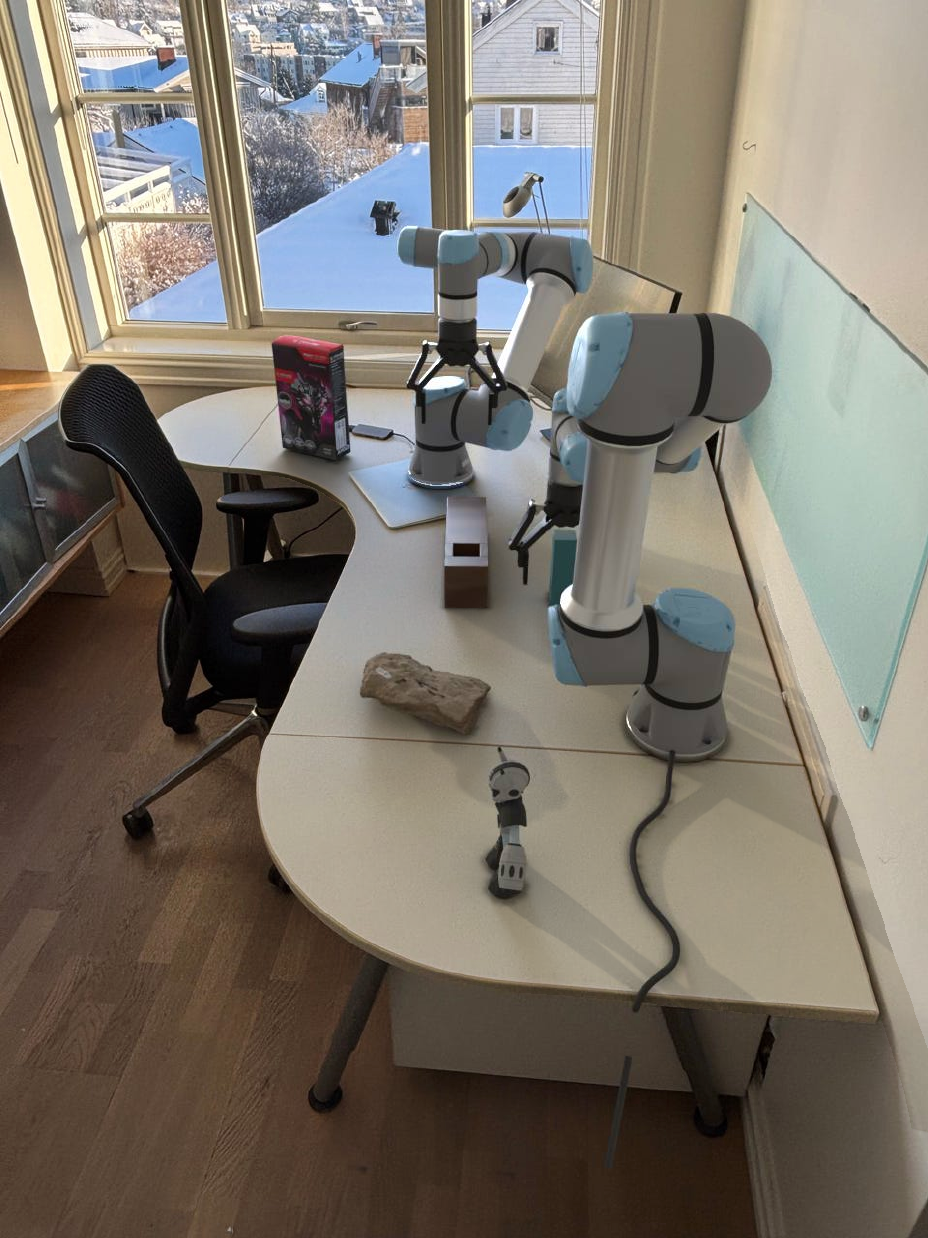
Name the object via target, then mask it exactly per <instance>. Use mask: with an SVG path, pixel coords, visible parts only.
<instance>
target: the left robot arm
mask: <svg viewBox="0 0 928 1238" xmlns="http://www.w3.org/2000/svg"><path fill="white" fill-rule="evenodd" d="M397 237H398V238H397V243H396V252H397V256H398V259H399V261H401V263H402V264H404V265H406V266H407V265H408V266H413V267H414V268H423V269H424V268H425V269H433V270H437V273H438V274H437V277H438V278H437V279H438V280H437V281H438V284H437V285H438V293H437V315H438V316H439V318H438V321H437V342H430V341H429V340H427V339H425V340H423V342H422V346H421V347H422V348H421V353H420V354H419V356H418V359H417V360H416V363H415V365H414V367H413V368H412V371H411V373H410V375H409V377H408V379H407V382H406V388H407V389H408V390H413V391H414V398H413V407H414V436H415V440H414V441H415V444H414V445H415V446H414V449H413V451H412V455H411V457H410V462H409V464H408V469H407V472H409V473H407V475H408V478H409V481H410V482H412V483H413V484H414V485H416V486H419V487H422V488H425V489H429V490H431V489H432V490H451V489H456V488H460V487H463V486H465V485H467V484H468V483H470V482H471V481H472V479H473V475H474V473H473V472H474V468H473V464H472V462H471V459H470V455H469V452H468V450H467V446H466V444H470V445H475V446H479V447H483V448H486V449H490V450H491V451H504V452H512V451H513V450H516V449H518V448H519V447H520V446H521V445H522V444H523V443H524V441H525V440H526V438H527V436H528V434H529V433H530V430H531V427H532V421H533V418H534V409H533V406H532V404H531V396H530V394H529V392H528V391H529V389H530V387H531V384H532V381H533V379H534V377H535V374H536V372H537V371H538V368H539V365H540V363H541V360H542V358H543V356H544V354H545V351H546V348H547V346H548V344H549V342H550V340H551V338H552V335H553V333H554V330H555V327H556V325H557V323H558V320H559V318H560V316H561V313H562V312H563V311H562V310H563V308H565V307H567V306H569V305H571V304H572V303H573V302H574V299H575V298H576V295H577V294H585V293H587V292H588V291H589V289H590V287H591V284H592V280H593V275H594V252H593V248H592V246H591V244H590V242H589V241H588V240H587V239H586V238H581V237H575V236H574V235H570V236H567V235H566V236H565V235H558V234H550V233H543V232H536V231H511V232H508V231H507V232H501V231H500V232H499V231H492V230H491V231H484V232H481V233H475V231H471V230H465V229H452V230H449V229H440V228H434V227H425V226H421V225H416V226H415V225H407V226H405V227H403V229H401V231H400V232H399V234H398V236H397ZM487 276H490V277H494V278H500V279H504V280H507V281H510V282H513V283H517V284H521V285H526V288H527V291H528V293H527V295H526V297H525V300H524V302H523V305H522V307H521V309H520V311H519V314H518V316H517V319H516V321H515V323H514V326H513V327H512V330H511V332H510V335H509V337H508V339H507V342H506V344H505V346H504V348H503V350H502V353H501V356H500V357H499V359H498V360H497V358H496V357H495V354H494V352H493V351H494V350H493V343H492V341H490V340H489V341H486V342H485V343H479V342H478V341H477V338H478V337H477V333H478V320H477V316H478V287H479V286H478V283H479V280H480V279H482V278H485V277H487ZM434 351H436V353H437V354H438V355H439V357H438V358H437V359H436V360H435V362H434V363H433V364H432V365H431V366H430V368H429V369H428V370H427V371H426V372H425V374H424V375H422V377H421V378H420V379H419V380H418V377H419V375H420V373H421V371H422V369H423V366H424V365H425V362H426V361H427V358H428V355H431V354H432V353H433V352H434ZM479 351H480V352H481V353H482V355H484V356H486V359H487V361H488V363H489V365H490V368H491V370H492V372H493V373H492V375H490V374H489V373H488V372H487V370H486V369H485V368H484V367H483V365H482V364H481V363H480V362H479V360H478V359H477V357H476V355H477V354H478V352H479ZM445 365H447V366H449V367H456V366H458V367H461V368H462V367H464V368H465V367H467V366H468V368H467V369H466V372H465V375H466V376H465V377H466V379H464V378H462V377H460V376H455V375H454V376H453V375H450V376H449V375H447V376H438V377H435V376H436V375H437V373H439V371H440V370H441V369H442V368H443V367H445ZM471 369H472V370H473V371H474V372H475V373H476V374H477V376H479V378H480V379H481V380H482V382H481V384H480V386H479V389H478V390H474V389H471V382H470V371H471ZM417 380H418V381H417ZM409 475H410V476H409ZM411 477H412V478H413V479H414V480H416V481H419V482H421V483H426V484H432V485H442V484H449V483H456V482H463V483H460V484H456V485H451V486H430V485H425V484H421V483H418V482H416V481H414V480H413V479H412V478H411Z"/></svg>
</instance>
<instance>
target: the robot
mask: <svg viewBox="0 0 928 1238" xmlns="http://www.w3.org/2000/svg"><path fill="white" fill-rule="evenodd" d="M497 752H498V755H499V758H500V762H499V763H498V764H497V765H496V766H494V767H493V769H491V772H490V773H489V775H488V788H489V790H490V791H491V800H492V801H493V802H494V806H495V808H496V810H497V812H498V814H496V820H497V828H498V829H499V836H498V838H497V840H496V842H495V844H494V845H493V846H492V848H491V850H490V851H489V852H488V854H487V855H486V857H485V861H486V863H487V865H488V867H489V868H490V869H491V870H493V871H495V872H493V874H492V876H491V878H490V880H489V883H488V886H487V890H488V891H490V893H491V894H492V895H493V896H494V897H495V898H500V899H509V898H512V897H514V896H516V895H518V894H520V893H522V891H523V888H524V884H525V878H526V877H525V876H526V869H527V856H526V851H525V847H524V846H523V845H522V844H521V840H520V826H521V827H523V828H527V827H528V820H527V810H526V807H525V804H524V803H523V796H522V794H524V791H525V789H526V788H528V786H529V785H530V781H531V775H530V771H529V769H528V767H527V766H526V765H524V764H522V763H521V762H520V761H517V760H515V759H507V756H506V755H505V753H504V751H503V749H502V747H501V746H498V747H497Z"/></svg>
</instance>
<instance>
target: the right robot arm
mask: <svg viewBox="0 0 928 1238" xmlns="http://www.w3.org/2000/svg"><path fill="white" fill-rule="evenodd" d="M771 359H772V358H771V356H770V353H769V350H768V348H767V345H766V344H765V342H764V341H763V339H762V338H761V337H760V336H759V334H758V333H757V332H755V330H753V329H752V328H751V327H750V326H748V324H746V323H744V322H743V321H742V320H739V319H737V318H735V317H732V316H730V315H726V314H721V313H717V312H700V313H691V312H689V313H687V312H680V313H679V312H671V313H670V312H667V313H666V312H665V313H662V312H659V313H657V312H656V313H655V312H651V313H650V312H648V313H647V312H645V313H643V312H642V313H640V312H637V313H636V312H635V313H634V312H630V313H629V311H621V312H617V313H605V314H595V315H592V316H590V317H589V318H587V319H586V320H585V321H584V322H583V323H582V324H581V327H579V329H578V331H577V334H576V336H575V338H574V342H573V347H572V349H571V354H570V358H569V364H568V369H567V384H566V387H565V388H561V389H559V390H558V391H556V393H555V394H554V395H553V401H552V409H551V410H550V411H551V424H550V425H551V426H550V427H551V428H550V429H551V430H550V445H549V446H550V447H549V457H548V458H549V459H548V470H547V471H548V472H547V476H548V478H547V485H546V499H545V501H544V502H536V500H535V499H533V498H531V499H529V500H528V502H527V507H526V511H525V512H524V514H523V516H522V518H521V520H520V521H519V523H518V524H517V525H516V527H515V529H514V531H513V532H512V534H511V536H510V537H509V538H508V540H507V543H508V550H509V551H512V552H513V551H515V552H516V553H517V558H516V559H517V563H516V564H517V567H518V568H519V569H522V585H523V586H528V582H529V581H528V579H529V561H530V551H529V549H531V547H533V545H534V544H535V543H537V542H538V541H539V540H540V539H541V537H543V536H544V535H545V534H546V533H547V532H549V531H550V530H552V528H554V527H557V528H559V529H560V528H561V529H562V528H563V529H564V528H565V527H566V528H571V529H574V528H576V527H578V531H577V548H576V559H575V569H574V578H573V584H572V585H570V586H569V587H568V588H567V589H566V590H565V591H564V592H563V593H562V596H561V599H560V605H554V606H551V605H549V607H548V608H547V614H546V615H547V628H548V636H549V646H550V647H549V648H550V654H551V662H552V668H553V673H554V677H555V678H556V680H557V681H558V682H559V683H560V684H562V685H565V686H577V687H579V686H580V687H584V688H587V687H590V686H594V687H595V686H634V685H635V686H636V685H640V688H638V689H637V690H636V691H635V692H634V693H633V695H632V697H631V698H633V699H632V701H631V702H630V704H629V706H628V708H627V711H626V719H625V728H626V732H627V734H628V736H629V738H630V739H631V741H632V742H634V744H636V745H637V746H638V747H639V748H640V749H641V750H643V751H645V752H646V753H648V754H650V755H651V756H654V757H656V758H659V759H662V760H666V761H667V767H666V774H665V775H666V776H665V787H664V788H665V789H664V794H663V797H662V799H661V802H660V803H659V805H658V806H657V807H656V808H655V809H654V810H653V811H652V812H651V813H650V814H649V815H647V816H646V817H645V818H644V819H642V821H640V823H639V824H638V825H637V826H636V828H635V830H634V831H633V834H632V837H631V841H630V845H629V863H630V864H629V865H630V869H631V873H632V877H633V880H634V884H635V886H636V890H637V891H638V892H637V893H638V894H639V896H640V898H641V900H642V901H643V902H644V904H645V906H646V907H647V908H648V909H649V910H650V912H651V913H652V914H653V915H654V916H655V917H656V919H657V920H658V921H659V922H660V924H661V925H662V926H663V927H664V929H665V930H666V932H667V933H668V935H669V938H670V940H671V944H672V956H671V958H670V959H669V961H668V963H667V964H666V965H664V967H662V968H661V969H660V970H658V971H657V972H655V974H653V975H652V976H651V977H649V978H648V979H647V980H646V981H645V983H643V985H642V986H641V987H640V988H639V990H638V992H637V993H636V996H635V998H634V1000H633V1002H632V1005H631V1012H633V1013H634V1014H636V1013H639V1011H640V1008H641V1006H642V1003H643V1001H644V999H645V997H646V996H647V994H648V993H649V991H650V990H651V989H653V987H654V986H655V985H656V984H658V982H660V981H661V980H663V979H664V978H666V976H668V975H670V973H672V971H674V969H675V968H676V967H677V965H678V964H679V960H680V958H681V943H680V940H679V937H678V936H679V935H678V934H677V932H676V930H675V928H674V927H673V925H672V924H671V923H670V921H669V920H668V919H667V918H666V916H665V915H664V914H663V913H662V912H661V911H660V910H659V908H658V907H657V906H656V905H655V904H654V903H653V901H652V900H651V898H650V897H649V895H648V893H647V891H646V889H645V887H644V884H643V880H642V878H641V873H640V870H639V866H638V861H637V847H638V842H639V838H640V836H641V834H642V832H643V831H644V829H645V828H647V826H648V825H649V824H650V823H652V821H654V820H655V819H657V817H658V816H660V815H661V814H662V812H663V811H664V810H665V809H666V807H667V805H668V804H669V801H670V799H671V798H670V797H671V794H672V785H673V784H672V783H673V781H672V780H673V773H674V766H675V765H674V764H675V763H694V762H700V761H703V760H706V759H709V758H711V757H714V755H716V754H718V752H720V751H721V750H722V748H723V747H724V744H725V743H726V740H727V739H726V738H727V733H728V721H727V716H726V712H725V708H724V707H725V706H724V701H723V692H724V686H725V682H726V678H727V672H728V668H729V664H730V659H731V654H732V651H733V649H734V646H735V631H736V620H735V617H734V614H733V612H732V611H731V609H730V608H729V607H728V606H727V605H726V604H725V603H724V602H723V601H721V600H720V599H718V598H716V597H715V596H713V595H711V594H709V593H706V592H704V591H701V590H698V589H695V588H689V587H688V588H687V587H671V588H670V587H669V588H667V589H665V590H663V591H660V592H659V593H658V594H657V596H656V597H655V599H654V600H653V604H644V603H643V600H642V598H641V596H640V595H639V594H638V593H637V592H636V589H637V582H638V581H637V580H638V575H639V569H640V562H641V557H642V556H641V555H642V549H643V543H644V536H645V530H646V523H647V516H648V511H649V504H650V497H651V492H652V487H653V486H652V484H653V480H654V479H653V478H654V473H655V474H656V473H657V474H658V473H660V474H664V473H665V474H667V473H668V474H678V473H688V472H689V473H690V472H693V471H695V470H696V469H697V467H699V462H700V461H701V457H702V448H703V444H704V443H706V442H707V440H709V439H710V438H711V437H712V436H713V435H714V434H715V433H717V432H718V431H720V429H722V428H723V427H724V426H725V425H728V424H729V425H730V424H734V423H737V422H739V421H742V420H743V419H745V418H747V417H748V416H750V415H751V413H753V412H754V411H755V410H756V409H757V408H758V407H759V406H760V405H761V404H762V403H763V401H764V400H765V398H766V396H767V395H768V392H769V389H770V387H771V383H772V378H773V364H772V360H771ZM542 511H543V512H544V514H545V515H544V516H542V519H541V520H540V521H539V522H538V523H537V524H536V525H535V526H534V527H533V528H532V529H531V530H530V531H529V532H528V533H527V534H526V532H527V531H528V529H529V528H530V526H531V524H532V523H533V521H534V519H535V516H538V515H539V514H540V512H542ZM525 534H526V535H525ZM633 1059H634V1057H633V1056H631V1055H624V1060H623V1066H622V1072H621V1077H620V1082H619V1088H618V1093H617V1099H616V1105H615V1109H614V1115H613V1119H612V1125H611V1131H610V1136H609V1141H608V1146H607V1152H606V1158H605V1162H604V1169H605V1170H606V1171H611V1170H612V1167H613V1163H614V1162H613V1161H614V1156H615V1153H616V1152H615V1151H616V1146H617V1141H618V1136H619V1131H620V1125H621V1120H622V1116H623V1110H624V1106H625V1101H626V1100H625V1099H626V1094H627V1090H628V1084H629V1080H630V1073H631V1069H632V1062H633Z"/></svg>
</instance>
